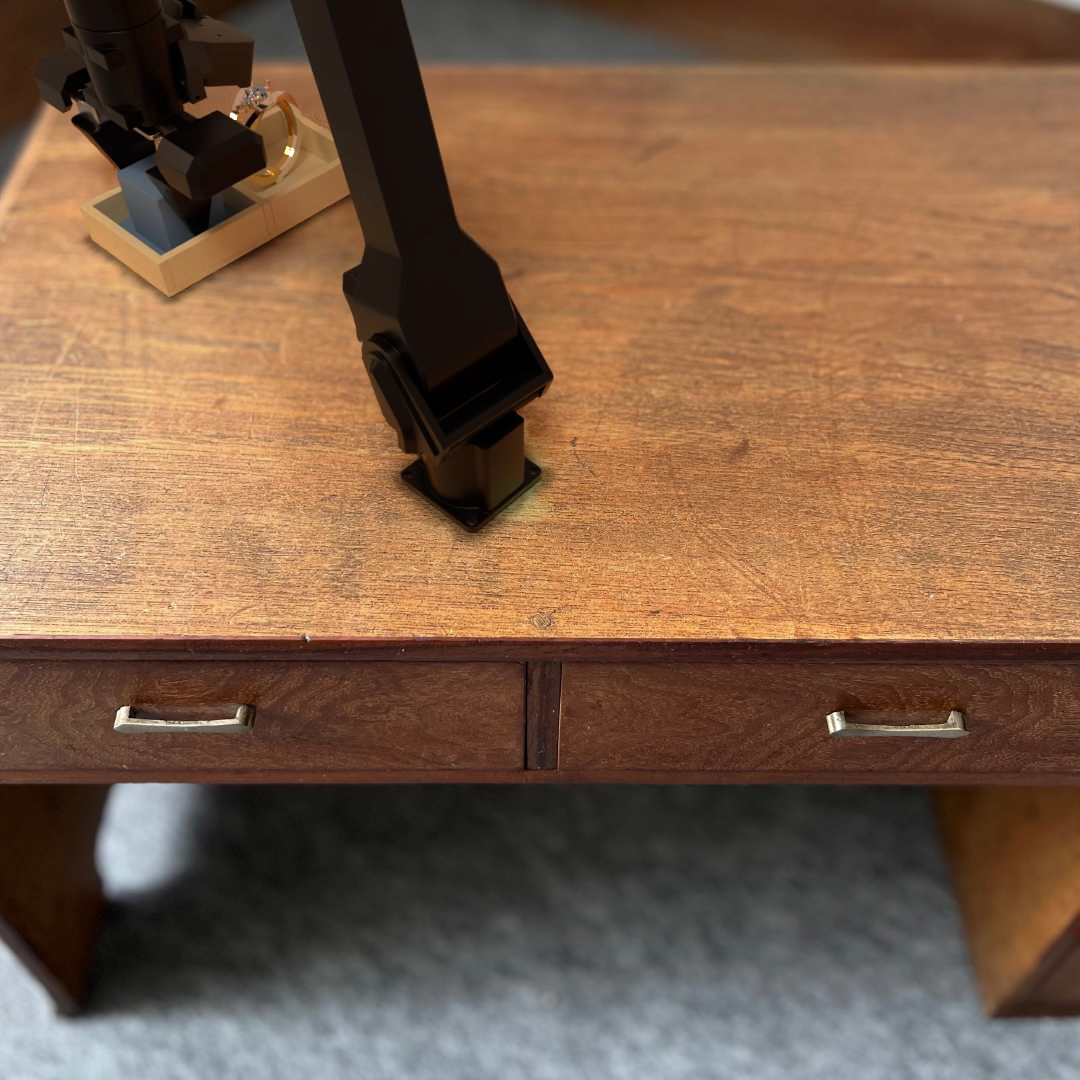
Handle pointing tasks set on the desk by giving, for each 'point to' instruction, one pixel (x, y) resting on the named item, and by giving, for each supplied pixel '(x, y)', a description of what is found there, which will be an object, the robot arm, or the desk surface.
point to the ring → (260, 102)
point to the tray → (229, 211)
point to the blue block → (158, 207)
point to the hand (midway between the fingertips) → (179, 219)
